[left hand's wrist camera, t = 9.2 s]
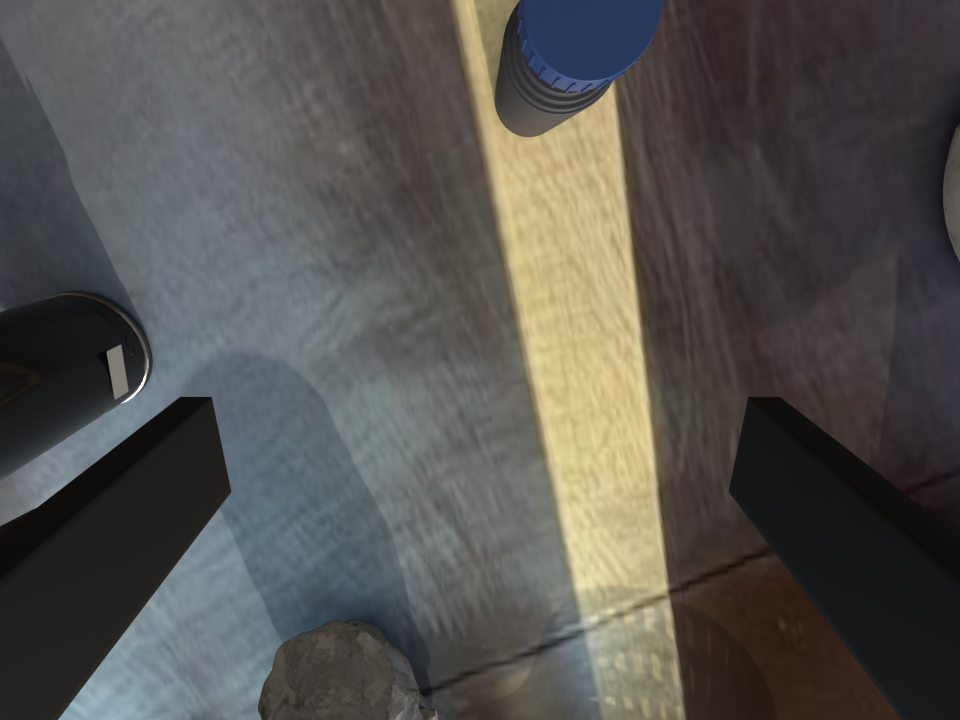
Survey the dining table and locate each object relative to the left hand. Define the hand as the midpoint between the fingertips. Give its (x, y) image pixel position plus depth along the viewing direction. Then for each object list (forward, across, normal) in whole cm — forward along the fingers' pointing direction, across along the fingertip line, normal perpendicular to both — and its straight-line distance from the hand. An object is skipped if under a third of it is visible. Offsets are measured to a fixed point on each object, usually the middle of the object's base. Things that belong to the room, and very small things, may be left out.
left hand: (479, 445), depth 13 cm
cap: (+6, +3, +11) cm, 13 cm away
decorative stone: (+26, -10, -48) cm, 56 cm away
